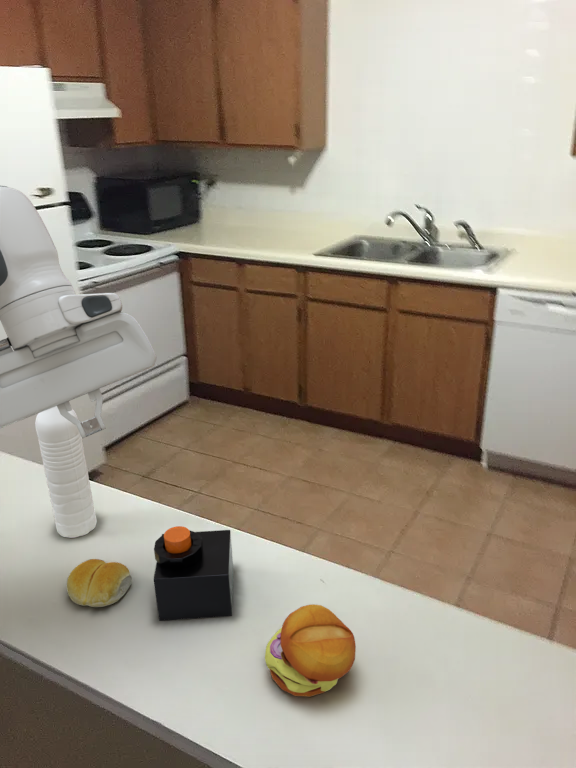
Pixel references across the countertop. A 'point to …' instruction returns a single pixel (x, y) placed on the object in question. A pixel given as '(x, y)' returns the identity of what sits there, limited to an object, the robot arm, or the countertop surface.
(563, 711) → the countertop surface
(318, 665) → the cheeseburger
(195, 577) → the black push button box
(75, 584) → the bread roll
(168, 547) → the orange button cap
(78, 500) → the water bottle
